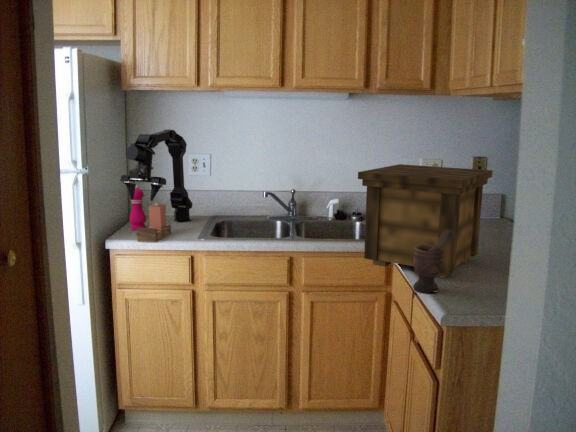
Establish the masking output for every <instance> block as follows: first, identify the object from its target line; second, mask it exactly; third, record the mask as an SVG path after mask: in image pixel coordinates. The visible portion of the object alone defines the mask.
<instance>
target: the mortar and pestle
mask: <svg viewBox="0 0 576 432" xmlns="http://www.w3.org/2000/svg"><path fill="white" fill-rule="evenodd" d="M453 234H454V232H453V231H452V230H450V229H446V230H445V231H444V232H443V233H442V234H441V236H440V238H439V239H438V241H437V243H436V244H435V245H428V244H422V245H416V246H415V247H414V259H413V263H414V266H413V268H414V269H413V270H414V273H415V274H416V275H417V276H418V279H417V281H416V282H415V283H414V284H413V286H412V287H413V290H414V291H415V292H419V293H422V294H423V293H424V294H426V293H427V294H431V293H430V292H434V291H437V290H438V291H439V285H438V283H436V282H435V278H437V276H438V275H439V273H440V270H441V268H442V263H443V254H444V249H443V248H442V247H443V246H444V245H445V244H446V243H447V242H448V241H449V240H450V239H451V238H452V236H453Z"/></svg>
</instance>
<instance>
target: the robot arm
mask: <svg viewBox="0 0 576 432" xmlns="http://www.w3.org/2000/svg"><path fill="white" fill-rule="evenodd" d="M162 142H164V144H165V146H166V147H167V153H168V154H169V156H170V157H171V159H172V161H171V162H172V176H173V178H172V179H173V188H172V191H170V193H169V195H170V196H169V201H170V204H171V208H172V209H174V212H173V218H174V219H173V220H174V221H175V222H178V223H181V222H191V221H192V219H190V215H191V214H190V209H192V208H193V202H192V200H191V198H190V197H189V192H188V190H187V189H186V188H185V176H184V175H185V174H184V156H185V154H186V153H187V146H188V145H187V142H186V140H185V139H184V137H183V136H181V134H178V133H177V132H176V130H174V129H164V130H161V131H159V132H155V133H151V134H150V133H149V134H148V133H139V134H138V136H137V138H136V139H135V142H133V143H130V146H129V147H127V148H126V151H125V157H126V158H127V159H128V160H130V161H134V162H137V164H135V168H132V169H130V170H128V175H127V174H122V175H121V176H120V178H119V179H120V180H119V182H122V184H124V185H125V186H126V188H127V190H128V194H129V198H130V201H131V200H133V198H134V193H135V187H136V185H137V184H136V183H138V182H139V183H150V187H151V190H150V202H153V201H154V200H155V197H156V195H157V194H158V192H159V191H160V190H161V188H163V187H164V186H167V179H166V178H165V177H162V176H152V170H154V167H153V158H154V157H153V156H155V155H156V152H155V151H154V150H153V149H154V148H156V147H157V146H158V145H159V143H162Z"/></svg>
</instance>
